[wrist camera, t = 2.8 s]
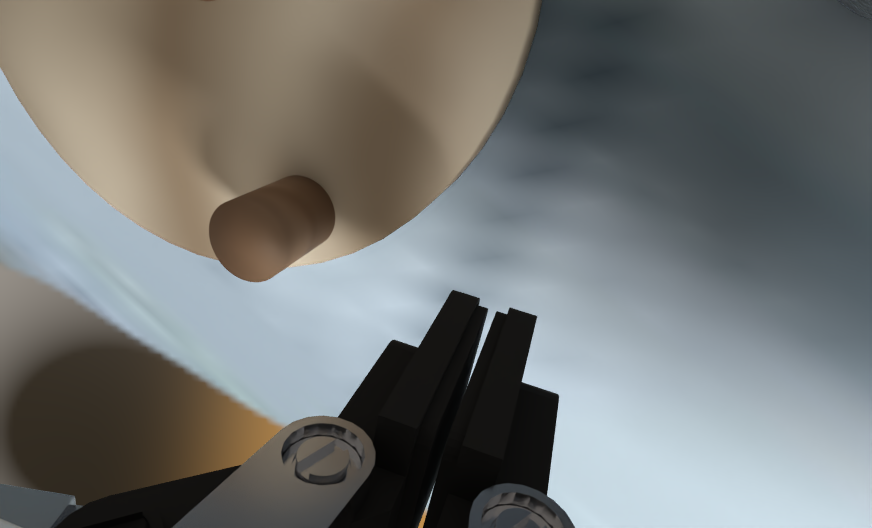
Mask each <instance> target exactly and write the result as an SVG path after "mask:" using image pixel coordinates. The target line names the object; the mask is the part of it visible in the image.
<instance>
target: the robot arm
mask: <svg viewBox="0 0 872 528" xmlns="http://www.w3.org/2000/svg"><path fill="white" fill-rule="evenodd" d="M479 301H480V298H477V297H474V296H471V295H468V294H464V293H461V292H458V291H455V290H452V292H451V293H450V295H449V297H448V298H447V300H446V302H445V303H444V305H443V307H442V308H441V310H440V312H439V313H438V315H437V317H436V319H435V320H434V322H433V324H432V325H431V327H430V329H429V330H428V332H427V334H426V335H425V337H424V339H423V341H422V342H421V344H420V346H419V347H418V348H417V347H414V346H411V345H408V344H405V343H402V342H399V341H396V340H392V341H391V342H390V343H389V344H388V346H387V347H386V349H385V350H384V352H383V353H382V354H381V356H380V357H379V359H378V360H377V362H376V363H375V364H374V366H373V367H372V369H371V370H370V372H369V373H368V375H367V376H366V377H365V379H364V380H363V382H362V383H361V385H360V386H359V388H358V389H357V390H356V392H355V393H354V395H353V396H352V398H351V399H350V400H349V402H348V403H347V405H346V406H345V408H344V409H343V411H342V412H341V413H340V415H339V416H338V417H329V416H314V417H306V418H303V419H300V420H297V421H294V422H292V423H291V424H289V425H288V426H286V427H285V428H283V429H282V430H280V431H279V432H278V433H277V434H276V435H275V436H274V437H273V438H272V439H270V440H269V441H268V442H267V443H266V444H265V445H264V446H263V447H262V448H260V449H259V450H258V451H257V452H256V453H255V454H254V455H252V456H251V457H250V458H249V459H248V460H247V461H246V462H245V463H244V464H243V465H239V466H235V467H230V468H226V469H222V470H218V471H213V472H209V473H205V474H200V475H196V476H192V477H188V478H183V479H179V480H175V481H171V482H166V483H162V484H158V485H154V486H150V487H145V488H141V489H137V490H132V491H128V492H124V493H119V494H115V495H111V496H108V497H105V498H102V499H99V500H96V501H93V502H90V503H88V504H86V505H85V506H78V505H75V496H70V495H64V494H58V493H52V492H46V491H39V490H34V489H28V488H21V487H16V486H10V485H4V484H0V528H418V526H419V523H420V521H421V518H422V515H423V513H424V510H425V507H426V505H427V502H428V499H429V497H430V494H431V491H432V489H433V486H434V489H433V492H432V496H431V500H430V503H429V507H428V511H427V515H426V518H425V522H424V526H423V528H575V526H574V525H573V523H572V522H571V520H570V518H569V517H568V515H567V514H566V512H565V511H564V510H563V509H562V508H561V507H560V506H559V505H558V504H557V503H556V502H555V501H554V500H552V499H551V498H549V497H548V496H547V491H548V483H549V475H550V467H551V459H552V451H553V442H554V434H555V426H556V418H557V410H558V402H559V395H558V394H556V393H553V392H550V391H547V390H544V389H541V388H538V387H535V386H532V385H529V384H526V383H523V382H522V378H523V374H524V369H525V365H526V361H527V357H528V353H529V348H530V344H531V340H532V336H533V332H534V327H535V323H536V319H537V316H535V315H532V314H529V313H525V312H522V311H519V310H516V309H513V308H509V311H508V314H504V313H501V312H496V314H495V317H494V319H493V322H492V324H491V327H490V330H489V332H488V335H487V337H486V340H485V342H484V345H483V348H482V350H481V353H480V355H479V358H478V361H477V363H476V366H475V368H474V371H473V373H472V376H471V379H470V381H469V378H470V374H471V370H472V367H473V363H474V360H475V356H476V352H477V349H478V345H479V341H480V338H481V334H482V331H483V327H484V323H485V320H486V316H487V312H488V308H485V307H481V306H479ZM468 381H469V384H468ZM467 385H468V386H467ZM434 483H435V485H434Z"/></svg>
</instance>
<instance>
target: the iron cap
mask: <svg viewBox="0 0 872 528" xmlns="http://www.w3.org/2000/svg"><path fill="white" fill-rule="evenodd" d="M838 1H839V2H840V3H841V4H843V5H844V6H845V7H847V8H848V9H850V10H852V11H853V12H855V13H856V14H858V15H861V16H863V17H865V18H867V19H870V20H872V0H838Z"/></svg>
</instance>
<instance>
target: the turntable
mask: <svg viewBox="0 0 872 528" xmlns="http://www.w3.org/2000/svg"><path fill="white" fill-rule="evenodd" d="M541 5H542V0H0V67H1V69H2V71H3V73H4V75H5V76H6V78H7V80H8V82H9V84H10V85H11V87H12V89H13V91H14V93H15V94H16V96H17V98H18V99H19V101H20V102H21V104H22V105H23V107H24V108H25V110H26V111H27V113H28V114H29V116H30V117H31V119H32V120H33V122H34V123H35V125H36V126H37V128H38V129H39V131H40V132H41V133H42V134H43V136H44V137H45V138H46V139H47V141H48V142H49V143H50V144H51V146H52V147H53V148H54V149H55V151H56V152H57V153H58V154H59V156H60V157H61V158H62V159H63V160H64V161H65V162H66V163H67V164H68V166H69V167H70V168H71V169H72V170H73V171H74V172H75V173H76V174H77V175H78V176H79V177H80V178H81V179H82V180H83V181H84V182H85V183H86V184H87V185H88V186H89V187H90V188H91V189H92V190H94V191H95V192H96V193H97V194H98V195H99V196H100V197H102V198H103V199H104V200H105V201H106V202H107V203H108V204H110V205H111V206H112V207H113V208H115V209H116V210H117V211H119V212H120V213H122V214H123V215H125V216H126V217H127V218H129V219H130V220H132V221H133V222H134V223H136V224H137V225H139V226H140V227H142V228H144V229H145V230H147V231H149V232H151V233H153V234H154V235H156V236H158V237H160V238H162V239H163V240H165V241H167V242H169V243H171V244H174V245H176V246H178V247H181V248H183V249H186V250H188V251H190V252H193V253H195V254H198V255H201V256H205V257H208V258H212V259H216V260H219V261H220V262H221V264H222V265H223V266H224V267H225V268H226V269H227V270H228V271H229V272H230V273H232V274H233V275H235V276H237V277H238V278H240V279H243V280H246V281H250V282H262V281H266V280H268V279H270V278H272V277H273V276H275V275H276V274H278V273H279V272H281V271H282V270H284V269H285V268H287V267H296V266H303V265H310V264H317V263H322V262H326V261H329V260H332V259H336V258H339V257H342V256H345V255H349V254H352V253H354V252H356V251H359V250H361V249H363V248H365V247H367V246H369V245H371V244H373V243H375V242H377V241H379V240H382V239H384V238H385V237H386V236H388V235H389V234H391V233H392V232H394V231H395V230H397V229H398V228H400V227H401V226H403V225H404V224H406V223H407V222H409V221H410V220H412V219H413V218H414V217H415V216H417V215H418V214H419V213H420V212H421V211H422V210H424V209H425V208H426V207H427V206H428V205H429V204H431V203H432V202H433V201H434V200H435V199H436V198H437V197H438V196H439V195H440V194H441V193H443V192H444V191H445V190H446V189H447V188H448V187H449V186H450V185H451V184H452V183H453V182H455V181H456V180H457V179H458V178H459V176H460V175H461V174H462V173H463V172H464V170H465V169H466V168H467V167H468V166H469V164H470V163H471V162H472V161H473V160H474V158H475V157H476V156H477V155H478V153H479V152H480V151H481V150H482V148H483V147H484V145H485V144H486V142H487V140H488V139H489V137H490V136H491V134H492V132H493V131H494V129H495V128H496V126H497V124H498V123H499V121H500V120H501V118H502V116H503V115H504V113H505V111H506V109H507V106H508V104H509V102H510V100H511V98H512V96H513V93H514V91H515V89H516V87H517V85H518V83H519V80H520V78H521V76H522V74H523V71H524V68H525V64H526V61H527V58H528V55H529V52H530V49H531V46H532V42H533V39H534V36H535V33H536V30H537V26H538V20H539V15H540V10H541Z"/></svg>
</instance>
